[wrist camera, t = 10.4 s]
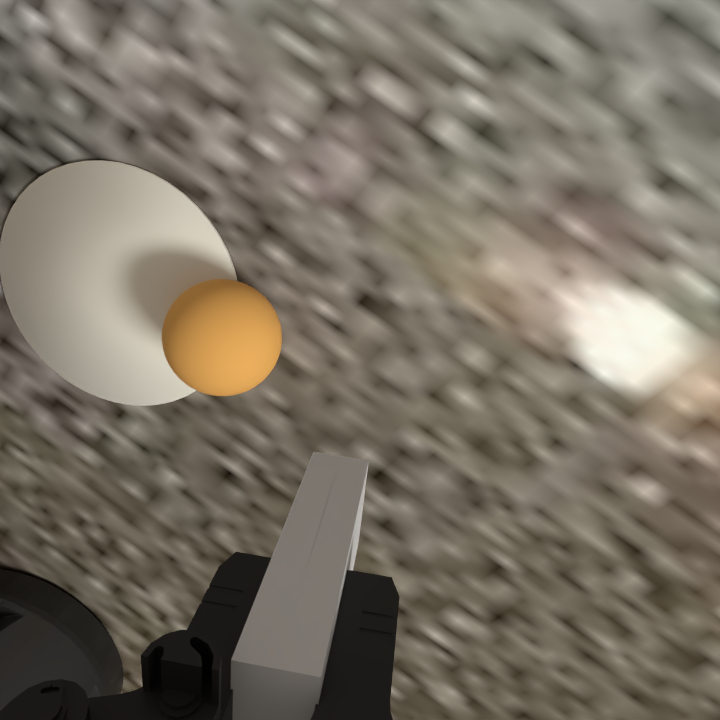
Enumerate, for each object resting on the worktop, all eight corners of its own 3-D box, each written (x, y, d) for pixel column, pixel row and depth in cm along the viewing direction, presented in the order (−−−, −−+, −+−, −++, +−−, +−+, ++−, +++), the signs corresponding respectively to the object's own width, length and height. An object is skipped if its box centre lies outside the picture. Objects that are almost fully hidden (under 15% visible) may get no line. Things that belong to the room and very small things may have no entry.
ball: (250, 435, 27) (237, 377, 32) (315, 341, 26) (291, 295, 30) (138, 390, 24) (140, 334, 29) (204, 283, 23) (196, 242, 28)
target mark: (118, 441, 34) (117, 443, 34) (-46, 257, 31) (-49, 258, 30) (290, 327, 30) (289, 328, 29) (120, 101, 27) (117, 101, 26)
